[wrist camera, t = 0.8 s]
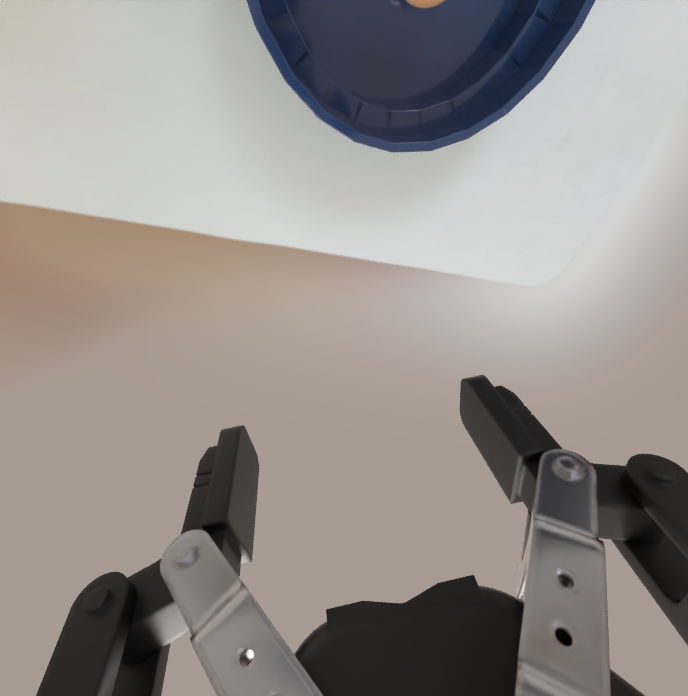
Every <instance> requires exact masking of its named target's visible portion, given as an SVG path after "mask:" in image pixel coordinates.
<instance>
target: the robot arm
mask: <svg viewBox="0 0 688 696" xmlns="http://www.w3.org/2000/svg"><path fill="white" fill-rule="evenodd" d="M460 415H461V419H462V422H463V424H464V426H465V428H466V430H467V431H468V433H469V435H470V436H471V438H472V439H473V441H474V443H475V445H476V446H477V448H478V450H479V451H480V453H481V455H482V456H483V458H484V459H485V461H486V463H487V465H488V466H489V468H490V469H491V471H492V473H493V474H494V476H495V478H496V479H497V481H498V483H499V484H500V486H501V488H502V489H503V491H504V493H505V494H506V496H507V498H508V499H509V501H510V503H511V504H512V503H517V502H522V501H523V502H524V504H525V505H526V507H527V509H528V512H527V518H526V525H525V533H524V540H523V547H522V555H521V562H520V569H519V574H518V580H517V586H516V591H515V597H513V596H511V595H509V594H507V593H505V592H502V591H499V590H496V589H493V588H489V587H484V586H478V584H477V582H476V579H475V577H474V575H471V576H467V577H463V578H459V579H454V580H450V581H446V582H441V583H437V584H436V585H434V586H432V587H431V588H429V589H427V590H426V591H424V592H422V593H421V594H419V595H418V596H416V597H414V598H412V599H411V600H409V601H407V602H405V603H401V604H399V603H385V602H384V603H383V602H371V601H360V602H356V603H352V604H348V605H343V606H339V607H335V608H331V609H327V610H326V613H327V622H325V623H324V624H322V625H321V626H319V627H318V628H317V629H316V630H314V631H313V632H312V633H311V634H310V635H309V636H308V637H307V638H306V639H305V640H304V642H303V643H302V644H301V645H300V647H299V648H298V650H297V651H296V653H295V654H293V652H292V651H291V649H290V648H289V647H288V645H287V644H286V642H285V641H284V640H283V638H282V637H281V635H280V634H279V633H278V631H277V630H276V628H275V627H274V625H273V624H272V623H271V621H270V620H269V619H268V617H267V616H266V614H265V613H264V611H263V610H262V609H261V607H260V606H259V604H258V603H257V601H256V600H255V599H254V597H253V596H252V594H251V593H250V592H249V590H248V589H247V587H246V586H245V585H244V584H243V582H242V581H241V579H240V578H239V576H240V566H241V564H245V563H249V562H252V553H253V540H254V528H255V515H256V502H257V489H258V476H259V464H258V463H259V462H258V457H257V454H256V451H255V449H254V446H253V444H252V442H251V440H250V437H249V435H248V433H247V431H246V429H245V427H244V426H237V427H232V428H228V429H223V430H221V432H220V437H219V441H218V446H214V447H210V448H208V450H207V451H206V453H205V454H204V456H203V457H202V459H201V460H200V462H199V466H198V470H197V474H196V475H197V477H196V478H195V482H194V488H193V490H192V494H191V498H190V501H189V506H188V509H187V513H186V517H185V521H184V525H183V529H182V532H181V535H180V536H179V537H177V538H176V539H175V540H174V541H172V543H171V544H170V545H169V546H168V547H167V549H166V550H165V552H164V554H163V556H162V558H161V559H160V560H158V561H157V562H155V563H154V564H152V565H150V566H148V567H146V568H144V569H143V570H141V571H139V572H137V573H135V574H134V575H132V576H130V577H128V578H127V577H126V576H125V575H124V574H122V573H120V572H110V573H107V574H104V575H102V576H100V577H98V578H97V579H95V580H94V581H92V582H91V583H90V584H89V585H88V586H87V587H86V588H85V589H84V590H83V591H82V592H81V593H80V594H79V596H78V597H77V599H76V600H75V602H74V603H73V605H72V607H71V609H70V612H69V614H68V617H67V620H66V622H65V625H64V627H63V630H62V632H61V635H60V637H59V640H58V642H57V645H56V647H55V650H54V652H53V655H52V657H51V660H50V662H49V665H48V667H47V670H46V673H45V675H44V677H43V680H42V682H41V685H40V687H39V690H38V692H37V695H36V696H161V693H162V687H163V682H164V676H165V670H166V664H167V659H168V653H169V648H170V642H172V641H173V640H175V639H177V638H178V637H180V636H182V635H183V634H185V633H186V632H188V631H190V632H191V635H192V636H191V638H190V640H191V643H192V646H193V648H194V650H195V652H196V654H197V656H198V658H199V660H200V662H201V664H202V666H203V668H204V670H205V672H206V674H207V676H208V678H209V680H210V682H211V684H212V686H213V688H214V690H215V692H216V694H217V696H645V695H643V694H642V693H641V692H639V691H638V690H637V689H636V688H634V687H633V686H632V685H630V684H629V683H628V682H626V681H625V680H624V679H623V678H621V677H620V676H619V675H617V674H616V673H615V672H613V671H612V670H611V669H610V665H609V664H610V662H609V636H608V610H607V585H606V558H605V547H604V543H603V541H601V540H599V538H605V539H611V540H612V541H613V543H614V544H615V546H616V547H617V548H618V550H619V551H620V553H621V554H622V555H623V557H624V558H625V559H626V561H627V562H628V564H629V565H630V566H631V568H632V569H633V570H634V572H635V573H636V575H637V576H638V577H639V579H640V580H641V582H642V583H643V584H644V586H645V587H646V588H647V590H648V591H649V592H650V594H651V595H652V597H653V598H654V599H655V601H656V602H657V604H658V605H659V606H660V608H661V609H662V611H663V612H664V613H665V615H666V616H667V617H668V619H669V620H670V622H671V623H672V624H673V626H674V627H675V628H676V630H677V631H678V633H679V634H680V635H681V637H682V638H683V640H684V641H685V642H686V644H687V645H688V473H687V472H686V471H685V470H684V469H683V468H682V467H680V466H679V465H677V464H676V463H674V462H672V461H670V460H668V459H666V458H663V457H660V456H657V455H652V454H638V455H635V456H633V457H631V458H630V459H629V461H628V462H627V464H626V466H619V465H603V464H593V463H590V462H588V461H587V460H586V459H585V458H584V457H582V456H581V455H579V454H577V453H574V452H572V451H569V450H564V449H562V448H561V447H560V446H559V444H558V443H557V442H556V441H555V440H554V439H553V437H552V436H551V435H550V434H549V433H548V432H547V430H546V429H545V428H544V427H543V426H542V425H541V423H540V422H539V421H538V420H537V419H536V418H535V417H534V415H532V414H531V412H530V411H529V410H528V408H527V407H526V406H524V404H523V403H522V402H521V400H520V399H519V398H518V397H517V396H516V395H515V393H513V392H511V391H509V390H508V389H506V388H504V387H502V386H497V387H494V386H493V385H492V384H491V383H490V381H489V380H488V379H487V378H486V377H485V376H484V375H480V376H475V377H470V378H465V379H462V381H461V393H460Z"/></svg>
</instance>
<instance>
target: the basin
mask: <svg viewBox="0 0 688 696" xmlns="http://www.w3.org/2000/svg"><path fill="white" fill-rule="evenodd" d="M594 2H595V0H445V1H444V2H443V3H441V4H439V5H438V6H435V7H432V8H427V9H421V8H417V7H413V6H412V5H410V4H408V3H407V2H406V1H405V0H247V3H248V6H249V9H250V12H251V15H252V18H253V22H254V25H255V27H256V29H257V31H258V33H259V35H260V37H261V38H262V40H263V42H264V44H265V46H266V47H267V49H268V51H269V53H270V55H271V56H272V58H273V60H274V62H275V64H276V65H277V67H278V69H279V71H280V73H281V74H282V76H283V78H284V80H285V81H286V83H287V84H288V85H289V86H290V87H291V88H292V89H293V90H294V92H295V93H296V94H297V95H298V96H299V97H300V98H301V99H302V100H303V102H304V103H305V104H306V105H307V106H308V107H309V108H310V109H311V110H312V112H313V113H314V114H315V115H316V116H317V117H318V118H319V119H320V120H322V121H323V122H325V123H326V124H328V125H329V126H331V127H332V128H334V129H336V130H337V131H339V132H340V133H342V134H343V135H345V136H346V137H348V138H349V139H351V140H353V141H354V142H357V143H360V144H364V145H367V146H371V147H375V148H378V149H382V150H385V151H389V152H418V151H432V150H435V149H438V148H441V147H444V146H447V145H450V144H453V143H456V142H459V141H462V140H465V139H468V138H470V137H471V136H473V135H474V134H476V133H478V132H479V131H481V130H482V129H484V128H486V127H487V126H489V125H490V124H492V123H494V122H495V121H497V120H498V119H500V118H501V117H503V116H505V115H506V114H507V113H509V112H510V111H511V110H512V109H513V108H514V107H515V106H516V105H517V104H518V103H519V102H520V101H521V100H522V99H523V98H524V97H525V96H526V95H527V94H528V93H529V92H530V91H531V90H533V89H534V88H535V87H536V86H537V85H538V84H539V83H540V82H541V81H542V80H543V79H544V77H545V76H546V75H547V74H548V72H549V71H550V69H551V68H552V67H553V65H554V64H555V63H556V61H557V60H558V59H559V57H560V56H561V55H562V53H563V52H564V50H565V49H566V48H567V46H568V45H569V44H570V42H571V41H572V40H573V38H574V37H575V36H576V34H577V33H578V31H579V30H580V28H581V27H582V25H583V23H584V21H585V19H586V17H587V15H588V14H589V12H590V10H591V8H592V6H593V4H594Z"/></svg>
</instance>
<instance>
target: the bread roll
mask: <svg viewBox="0 0 688 696" xmlns="http://www.w3.org/2000/svg"><path fill="white" fill-rule="evenodd" d="M405 1H406V2H407V3H408V4H410V5H412V6H413V7H417V8H421V9H427V8H432V7H435V6H438V5H439V4H441V3H443V2H444V1H445V0H405Z"/></svg>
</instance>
